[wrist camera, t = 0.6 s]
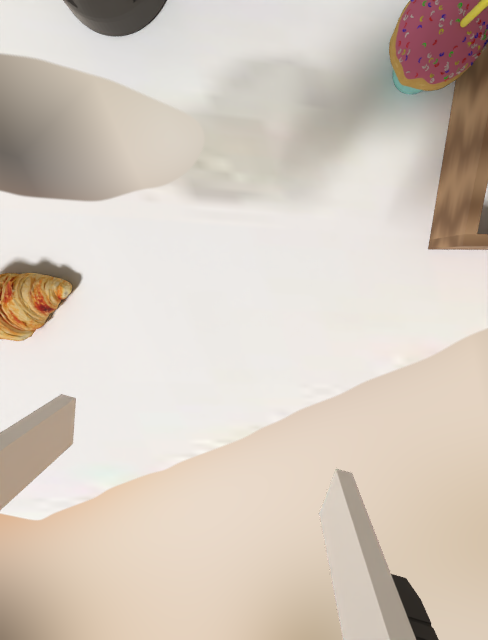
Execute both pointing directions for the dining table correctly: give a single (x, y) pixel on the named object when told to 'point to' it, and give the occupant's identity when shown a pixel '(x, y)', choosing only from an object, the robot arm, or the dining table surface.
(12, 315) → the croissant
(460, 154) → the holder
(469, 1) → the cupcake
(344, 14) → the dining table surface
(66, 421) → the robot arm
